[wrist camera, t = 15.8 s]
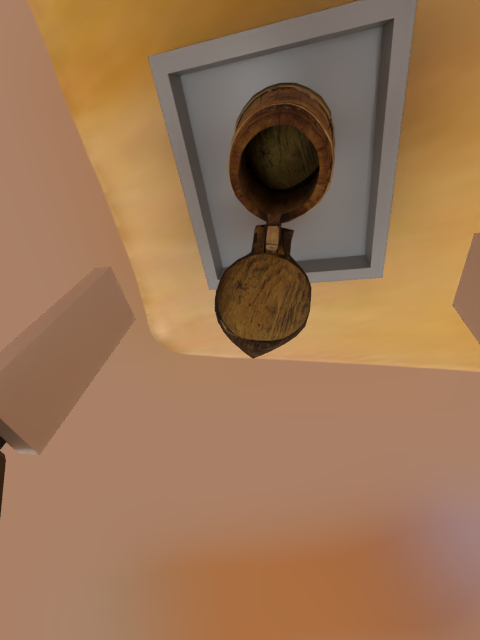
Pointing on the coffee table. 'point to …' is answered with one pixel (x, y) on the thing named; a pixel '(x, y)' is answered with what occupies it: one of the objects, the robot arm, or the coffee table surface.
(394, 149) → the slate tray
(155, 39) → the coffee table surface
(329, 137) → the wooden mug
